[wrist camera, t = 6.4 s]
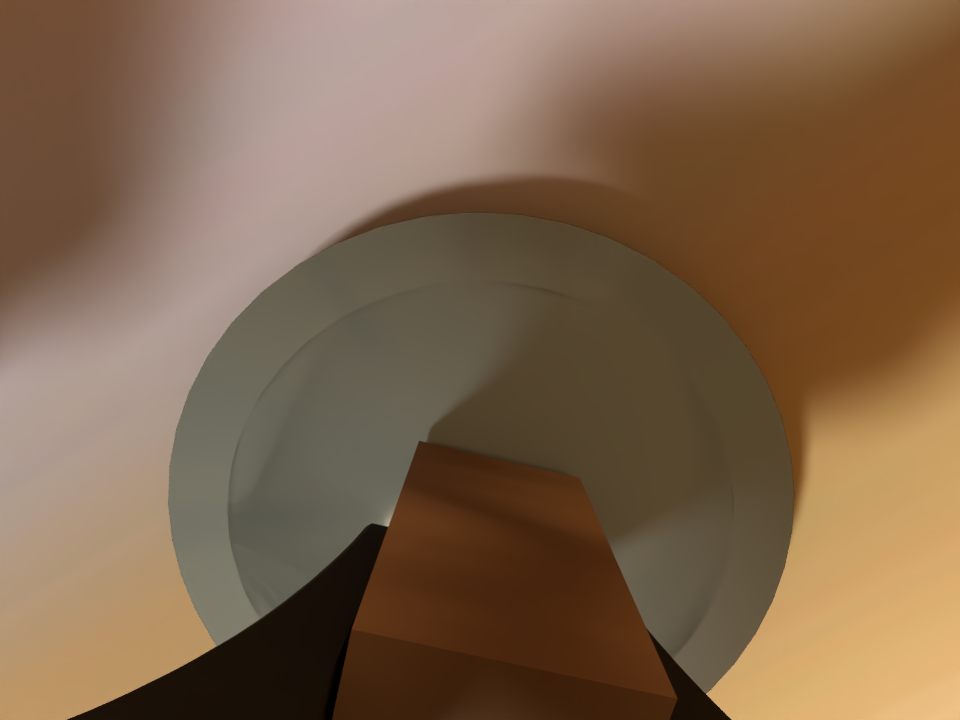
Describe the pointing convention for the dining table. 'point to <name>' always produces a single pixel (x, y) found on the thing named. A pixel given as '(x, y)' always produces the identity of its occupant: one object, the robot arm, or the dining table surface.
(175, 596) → the dining table surface
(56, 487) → the dining table surface
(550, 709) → the walnut block
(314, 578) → the robot arm
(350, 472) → the dish
